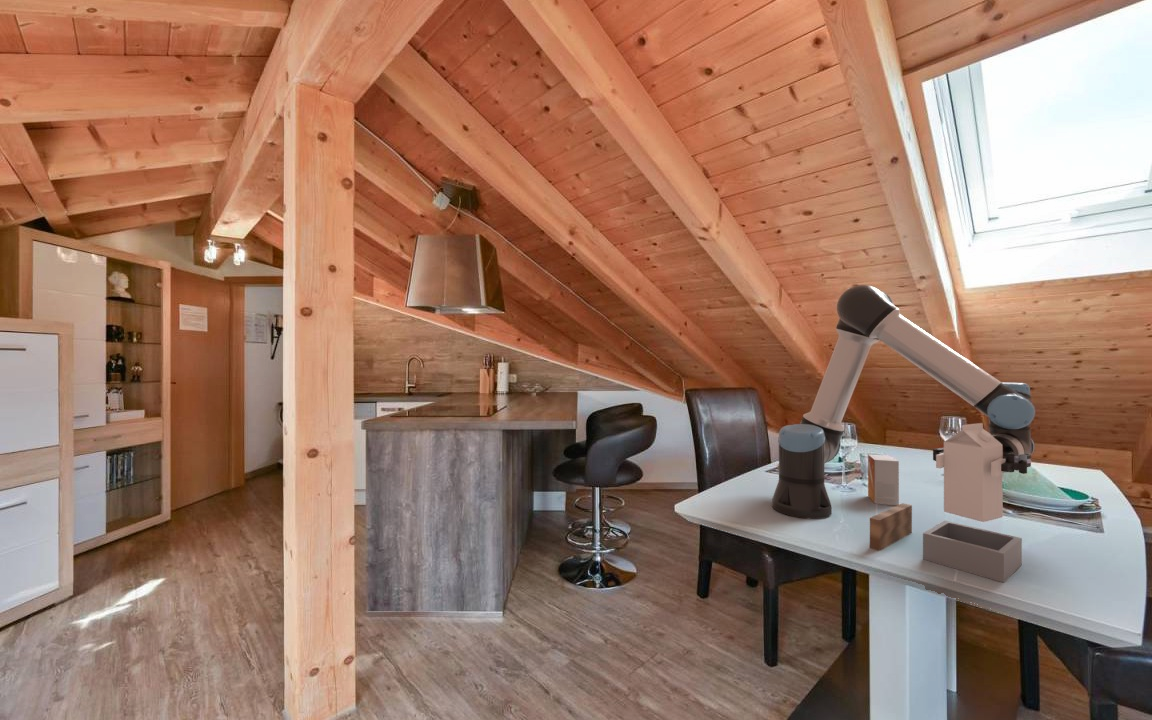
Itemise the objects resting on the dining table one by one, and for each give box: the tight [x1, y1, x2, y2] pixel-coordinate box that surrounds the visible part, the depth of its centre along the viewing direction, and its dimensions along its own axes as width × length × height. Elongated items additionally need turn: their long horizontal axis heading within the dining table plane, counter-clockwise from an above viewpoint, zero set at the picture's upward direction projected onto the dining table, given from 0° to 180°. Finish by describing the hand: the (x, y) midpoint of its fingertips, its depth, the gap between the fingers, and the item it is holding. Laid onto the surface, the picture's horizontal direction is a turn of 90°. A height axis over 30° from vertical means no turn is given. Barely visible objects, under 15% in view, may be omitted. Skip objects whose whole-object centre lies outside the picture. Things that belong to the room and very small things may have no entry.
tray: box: [922, 520, 1023, 584], centre depth 99 cm, size 13×13×6 cm
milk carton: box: [943, 422, 1004, 523], centre depth 99 cm, size 7×7×19 cm
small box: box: [867, 454, 900, 506], centre depth 142 cm, size 8×6×13 cm
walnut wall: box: [869, 502, 913, 552], centre depth 111 cm, size 18×2×7 cm, turn 126°
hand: (964, 465), depth 96 cm, fingers closed on milk carton, 8 cm apart
